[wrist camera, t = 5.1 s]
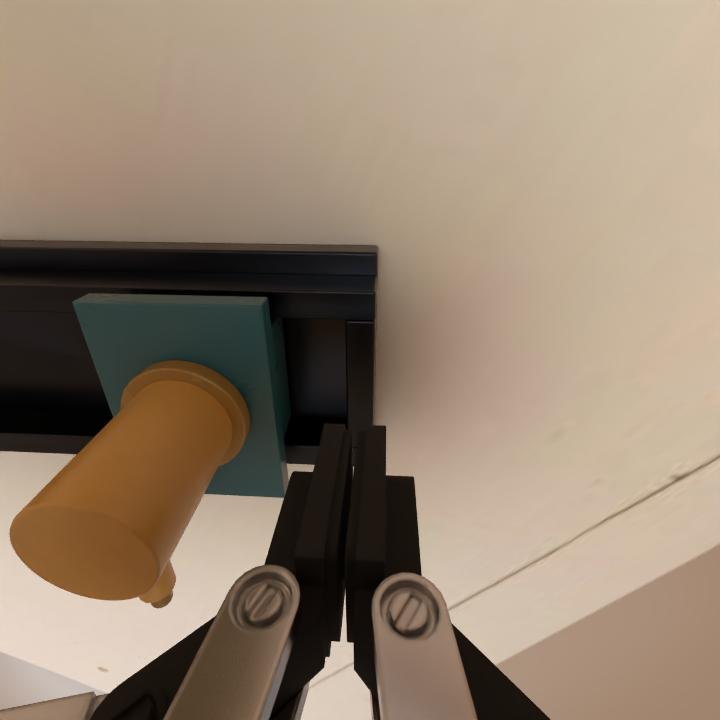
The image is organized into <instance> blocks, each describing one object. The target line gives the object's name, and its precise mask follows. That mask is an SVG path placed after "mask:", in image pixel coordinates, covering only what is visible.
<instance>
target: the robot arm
mask: <svg viewBox="0 0 720 720" xmlns="http://www.w3.org/2000/svg"><path fill="white" fill-rule="evenodd" d="M345 588H346V622H347V642H352V643H354V670H355V671H356V673H357V674H358V675H359V677H360V678H361V679H362V681H363V682H364V683H365V685H366V686H367V687H368V689H369V690H370V701H371V712H372V720H550V719H549V717H547V716H546V715H545V714H544V713H543V712H542V711H541V710H540V709H539V708H538V707H537V706H536V705H535V704H534V703H533V702H532V701H531V700H530V699H529V698H528V697H527V696H526V695H525V694H524V693H523V692H522V691H521V690H520V689H519V688H518V687H517V686H515V684H514V683H513V682H511V681H510V680H509V679H508V678H507V677H506V676H505V675H504V674H503V673H502V672H501V671H500V670H499V669H498V668H497V667H496V666H495V665H494V664H493V663H492V662H491V661H490V660H489V659H488V658H487V657H486V656H485V655H484V654H483V653H482V652H481V651H480V650H479V649H478V648H477V647H475V646H474V645H473V644H472V643H471V642H470V641H469V640H468V639H467V638H466V637H465V636H464V635H463V634H462V633H461V632H460V631H459V630H458V629H457V628H456V627H455V626H454V625H453V624H452V623H451V620H450V616H449V613H448V609H447V605H446V603H445V600H444V598H443V596H442V594H441V592H440V591H439V590H438V588H437V587H436V586H435V585H434V584H433V583H432V582H430V581H429V580H428V579H426V578H425V577H423V576H422V575H421V562H420V548H419V535H418V522H417V509H416V496H415V483H414V477H409V476H387V475H386V426H380V425H366V430H358V437H357V446H356V455H355V465H354V474H353V438H352V430H345V424H327V423H325V424H324V427H323V431H322V436H321V440H320V445H319V449H318V453H317V458H316V462H315V466H314V471H313V472H299V471H293V473H292V474H291V477H290V480H289V484H288V487H287V490H286V494H285V497H284V500H283V504H282V507H281V511H280V514H279V517H278V521H277V524H276V528H275V531H274V534H273V538H272V541H271V545H270V548H269V551H268V555H267V558H266V562H265V565H263V566H258V567H255V568H253V569H251V570H249V571H247V572H245V573H244V574H243V575H242V576H241V577H240V578H238V579H237V580H236V581H235V583H234V584H233V586H232V587H231V589H230V590H229V592H228V594H227V596H226V598H225V600H224V602H223V604H222V605H221V607H220V609H219V611H218V613H217V615H216V616H215V617H214V618H212V619H211V620H209V621H208V622H207V623H205V624H204V625H202V626H201V627H200V628H198V629H197V630H195V631H194V632H193V633H191V634H190V635H188V636H187V637H186V638H184V639H183V640H181V641H180V642H179V643H177V644H176V645H174V646H173V647H172V648H170V649H169V650H167V651H166V652H165V653H163V654H162V655H160V656H159V657H158V658H156V659H155V660H153V661H152V662H151V663H149V664H148V665H146V666H145V667H144V668H142V669H141V670H139V671H138V672H137V673H135V674H134V675H132V676H131V677H130V678H128V679H127V680H125V681H124V682H123V683H121V684H120V685H119V686H117V687H116V688H115V689H114V690H113V691H112V692H111V693H109V694H104V695H99V696H96V695H95V693H94V692H89V693H84V694H79V695H74V696H68V697H63V698H59V699H53V700H48V701H43V702H38V703H33V704H28V705H23V706H18V707H13V708H8V709H3V710H0V720H300V718H301V714H302V711H303V707H304V704H305V700H306V696H307V693H308V689H309V682H310V680H311V679H312V678H313V677H314V676H315V675H316V674H318V673H319V672H320V671H321V670H322V669H323V668H324V664H325V657H330V648H331V641H338V642H340V637H341V627H342V617H343V607H344V596H345Z"/></svg>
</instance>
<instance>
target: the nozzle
mask: <svg viewBox="0 0 720 720" xmlns="http://www.w3.org/2000/svg"><path fill="white" fill-rule="evenodd" d="M72 304H73V307H74V309H75V312H76V315H77V318H78V320H79V323H80V326H81V329H82V332H83V334H84V337H85V340H86V343H87V346H88V348H89V351H90V354H91V357H92V359H93V362H94V365H95V368H96V371H97V373H98V376H99V379H100V382H101V385H102V387H103V390H104V393H105V396H106V398H107V401H108V404H109V407H110V410H111V412H112V415H113V419H112V420H111V421H110V422H109V423H108V424H107V425H106V426H105V427H104V428H103V429H102V430H101V431H100V432H99V433H98V434H97V435H96V436H95V437H94V438H93V439H92V440H91V441H90V442H89V443H88V444H87V445H86V446H85V447H84V448H83V449H82V450H81V451H80V452H79V453H78V454H77V455H76V456H75V457H74V458H73V459H72V460H71V461H70V462H69V463H68V464H67V465H66V466H65V467H64V468H63V469H62V470H61V471H60V472H59V473H58V474H57V475H56V476H55V477H54V478H53V479H52V480H51V481H50V482H49V483H48V484H47V485H46V486H45V487H44V488H43V489H42V490H41V491H40V492H39V493H38V494H37V495H36V496H35V497H34V498H33V499H32V500H31V501H30V502H29V503H28V504H27V505H26V506H25V507H24V508H23V509H22V510H21V511H20V512H19V513H18V514H17V515H16V517H15V518H14V520H13V522H12V524H11V527H10V541H11V544H12V546H13V548H14V550H15V552H16V554H17V555H18V556H19V558H20V559H21V560H22V561H23V562H24V564H25V565H26V566H27V567H29V568H30V569H31V570H32V571H33V572H34V573H36V574H37V575H38V576H40V577H41V578H43V579H44V580H46V581H48V582H49V583H51V584H53V585H55V586H57V587H59V588H61V589H64V590H66V591H69V592H71V593H74V594H77V595H80V596H84V597H88V598H94V599H100V600H127V599H132V598H136V597H139V598H140V600H142V601H143V602H146V603H151V605H152V606H153V607H155V608H162V607H164V606H166V605H167V604H168V603H169V602H170V601H171V599H172V597H173V591H172V589H173V588H174V585H175V582H176V576H175V573H174V570H173V567H172V564H171V561H170V558H171V556H172V554H173V552H174V550H175V548H176V546H177V544H178V542H179V540H180V538H181V537H182V535H183V533H184V531H185V529H186V527H187V525H188V523H189V521H190V519H191V517H192V516H193V514H194V512H195V510H196V508H197V506H198V504H199V502H200V500H201V498H202V496H203V495H204V494H218V495H239V496H259V497H280V498H283V497H285V494H286V490H287V487H288V484H289V480H288V471H287V462H286V453H285V445H284V435H285V433H286V430H287V427H288V424H289V421H290V418H291V407H290V397H289V387H288V377H287V367H286V357H285V347H284V336H283V326H282V318H270V312H269V303H268V298H267V297H239V296H193V295H147V294H101V293H89V294H87V295H85V296H83V297H81V298H79V299H77V300H75V301H73V302H72Z"/></svg>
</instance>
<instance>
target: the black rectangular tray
mask: <svg viewBox="0 0 720 720" xmlns="http://www.w3.org/2000/svg"><path fill="white" fill-rule="evenodd" d="M377 285H378V246H367V245H300V244H232V243H164V242H96V241H29V240H0V451H14V452H37V453H60V454H78V453H79V452H80V451H81V450H82V449H83V448H84V447H85V446H86V445H87V444H88V443H89V442H90V441H91V440H92V439H93V438H94V437H95V436H96V435H97V434H98V433H99V432H100V431H101V430H102V429H103V428H104V427H105V426H106V425H107V424H108V423H109V422H110V421H111V420H112V419H113V415H112V412H111V410H110V407H109V404H108V401H107V398H106V396H105V393H104V390H103V387H102V385H101V382H100V379H99V376H98V373H97V371H96V368H95V365H94V362H93V359H92V357H91V354H90V351H89V348H88V346H87V343H86V340H85V337H84V334H83V332H82V329H81V326H80V323H79V320H78V318H77V315H76V312H75V309H74V307H73V304H72V302H73V301H75V300H77V299H79V298H81V297H83V296H85V295H87V294H89V293H101V294H147V295H193V296H239V297H267V298H268V303H269V312H270V318H282V326H283V336H284V347H285V357H286V367H287V377H288V387H289V397H290V407H291V418H290V421H289V424H288V427H287V430H286V433H285V435H284V445H285V453H286V462H287V463H288V464H311V465H315V462H316V458H317V453H318V449H319V445H320V440H321V436H322V431H323V427H324V424H325V423H327V424H345V430H352V438H353V466H354V465H355V455H356V446H357V437H358V430H366V425H374V418H375V373H376V329H377Z"/></svg>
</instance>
